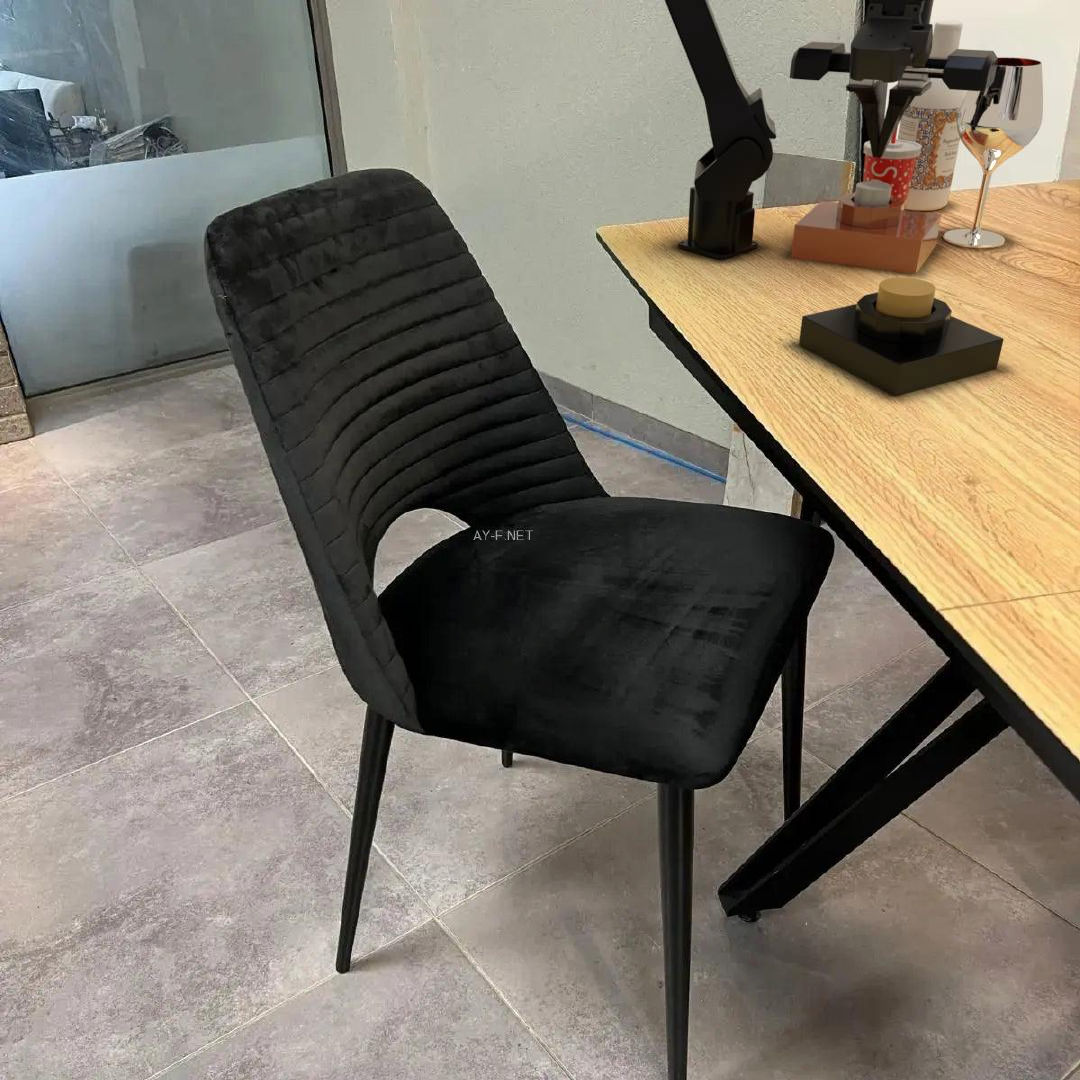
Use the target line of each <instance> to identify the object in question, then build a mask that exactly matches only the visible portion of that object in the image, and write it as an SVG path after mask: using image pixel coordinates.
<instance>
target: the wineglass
mask: <svg viewBox="0 0 1080 1080" xmlns="http://www.w3.org/2000/svg"><path fill="white" fill-rule="evenodd" d="M1043 80H1044V79H1043V62H1042V61H1040V60H1037V59H1031V58H1026V57H1025V58H1024V57H1007V56H1005V57H1004V56H1003V57H998V62H997V68H996V73H995V78H994V82H993V83H992V84H991V85H990V86H989V87H988V88H987V89H986V90H985V91H968V90H967V93H966V95H965V97H964V100H963V102H962V104H961V107H960V110H959V113H958V117H957V131H958V134H959V137H960V142H961V143H962V144H963V146H964V147H965V148H966V150H967V151H968V152H969V153H970V154H971V155H972V156H973V158H974V159H975V160H976V161H977V163H978V164H979V165H980V168H981V170H982V178H981V179H982V180H981V185H980V189H979V194H978V200H977V204H976V208H975V213H974V218H973V222H972V224H971V227H970V228H955V229H951V230H947V231H946V232H944V233H943V236H942V237H943V240H944V241H945V242H947V243H949V244H951V245H954V246H959V247H962V248H969V249H994V248H997V247H1000V246H1002V245H1004V244H1005V241H1006V239H1005V237H1004V236H1003V235H1001V234H999V233H996V232H994V231H989V230H984V229H982V223H983V217H984V211H985V207H986V202H987V197H988V192H989V187H990V183H991V179H992V175H993V173H994V172H995V170H996V169H997V168H999V167H1000V166H1001V165H1002V164H1003V163H1005V162H1006V161H1007V160H1009V159H1010V158H1012V157H1013V156H1015V155H1016V154H1018V153H1019V152H1020V151H1022V150H1023V149H1024V148H1026V147H1027V146H1028V145H1029V144H1030V143H1031V142H1032V141H1033V140H1034V139H1035V137H1036V135H1037V134H1038V133H1039V131H1040V128H1041V126H1042V122H1043V118H1044V117H1043V115H1044V82H1043Z"/></svg>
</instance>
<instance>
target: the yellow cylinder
mask: <svg viewBox="0 0 1080 1080" xmlns="http://www.w3.org/2000/svg"><path fill="white" fill-rule="evenodd" d="M936 290H937V289H936V286H935V285H934V284H933V283H932V282H930V281H927V280H924V279H920V278H916V277H905V276H904V277H902V276H901V277H900V276H898V277H889V278H886V279H882V280H881V281H880V282H879V285H878V291H877V292H878V296H877V302H876V310H878V311H880V312H882V313H884V314H887V315H892V316H897V317H911V318H919V317H923V316H928V315H931V310H932V305H933V300H934V298H935V295H936Z"/></svg>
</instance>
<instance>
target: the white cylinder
mask: <svg viewBox="0 0 1080 1080" xmlns="http://www.w3.org/2000/svg"><path fill="white" fill-rule="evenodd" d="M891 190H892V186H891V185H890V184H888V183H884V182H878V181H865V182H863V181H860V182H858V183H856V184H855V191H854V193H855V196H854V203H857V204H860V205H868V206H884V205H888V204H889V202H890V196H891Z"/></svg>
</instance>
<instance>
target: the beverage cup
mask: <svg viewBox="0 0 1080 1080" xmlns="http://www.w3.org/2000/svg"><path fill="white" fill-rule="evenodd" d="M898 130H899V126H898V127H897V129H896V131H895V133H894V135H893V136H892V138H891V140H890V142H889V144H888V146H887V148H886V150H885V152H884V154H883V156H882V157H881V158H875V157H873V156H872V150H871V145H870V140H868V141H865V142H864V144H863V152H862V153H863V154H865V155H864V165H863V176H862V182H865V181H878V182H884V183H888V184H890V185H891V186H892V190H891V195H894V196H897V197H900V198H901V199H902V200H904V201H905V205H906V201H907V197H908V192H909V188H910V184H911V179H912V175H913V171H914V167H915V162H916V158H917V156H919V155H920V151H921V145H920V144H918V143H916V142H912V141H907V140H899V139H898V138H897V136H898V135H897V134H898ZM905 205H904V210H906V209H905Z"/></svg>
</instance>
